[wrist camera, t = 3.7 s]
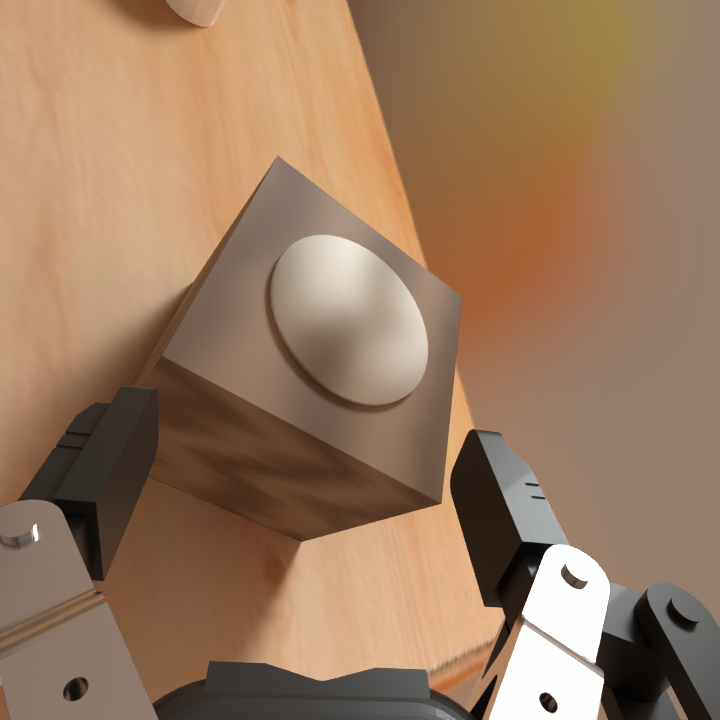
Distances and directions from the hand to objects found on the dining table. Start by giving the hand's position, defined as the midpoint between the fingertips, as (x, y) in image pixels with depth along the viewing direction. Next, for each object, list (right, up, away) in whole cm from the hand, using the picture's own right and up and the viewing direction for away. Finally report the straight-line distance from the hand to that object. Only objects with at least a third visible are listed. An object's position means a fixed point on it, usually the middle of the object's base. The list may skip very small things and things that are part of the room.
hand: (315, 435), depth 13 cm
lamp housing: (-7, -1, +23) cm, 25 cm away
